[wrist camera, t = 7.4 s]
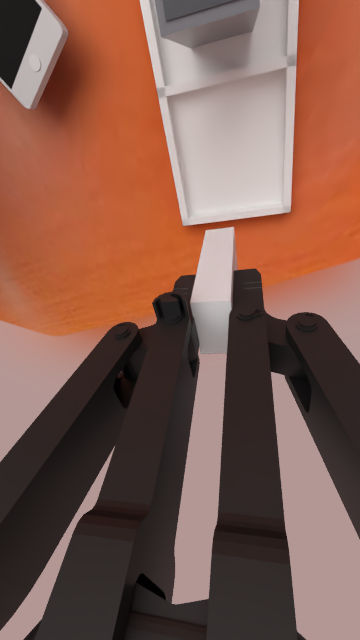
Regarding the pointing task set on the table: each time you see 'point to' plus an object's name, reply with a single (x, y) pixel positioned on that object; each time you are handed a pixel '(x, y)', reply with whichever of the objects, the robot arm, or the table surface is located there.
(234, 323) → the robot arm
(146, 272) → the table surface
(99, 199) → the table surface
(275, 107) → the dock
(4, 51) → the smartphone
